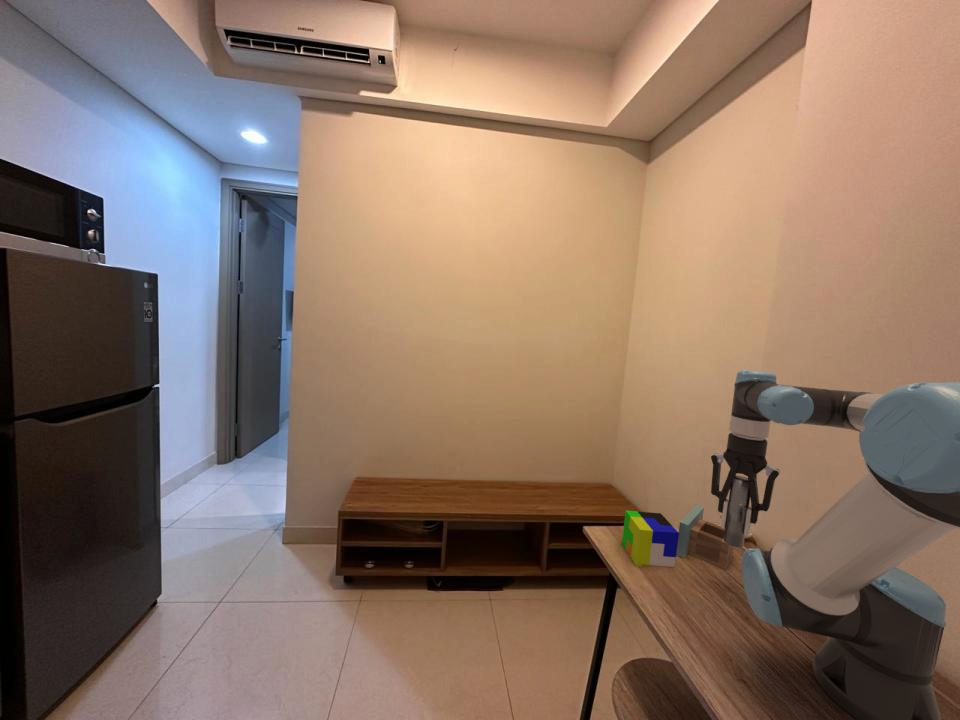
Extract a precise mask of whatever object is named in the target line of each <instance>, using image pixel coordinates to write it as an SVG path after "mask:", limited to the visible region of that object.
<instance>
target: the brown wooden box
mask: <svg viewBox="0 0 960 720" xmlns="http://www.w3.org/2000/svg"><path fill="white" fill-rule="evenodd" d="M724 532H725V528H721V525H718V524H715V523H713V522H709V521H707V520H704V519H699V520H698V521H697V523H696V524H695V525H694V526H693V527H692V528H691V531H690V539H689V547H688V553H687V554H688V555H691V556H694V557H696V558H698V559H699V560H703V561H705V562H707V563H709V564H711V565H713V566H716V567H719V568H721V569H723V570H725V571H726V570H727V568H728V566H729V564H730V562H731V560H732V559H733V557H734V552H735V551H734V550H735V547H734V546H731V545H729V544H727V543H726V542H725V541H724Z"/></svg>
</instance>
